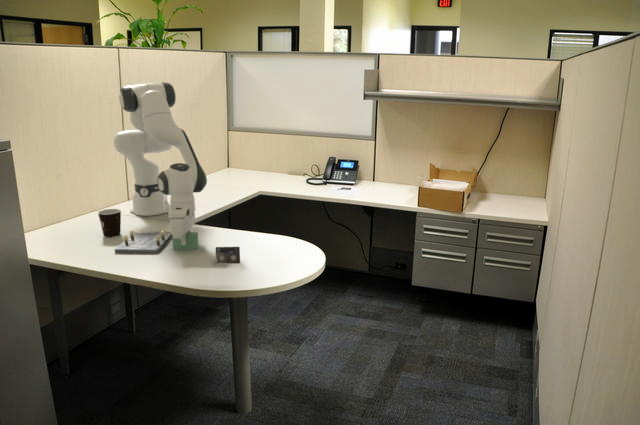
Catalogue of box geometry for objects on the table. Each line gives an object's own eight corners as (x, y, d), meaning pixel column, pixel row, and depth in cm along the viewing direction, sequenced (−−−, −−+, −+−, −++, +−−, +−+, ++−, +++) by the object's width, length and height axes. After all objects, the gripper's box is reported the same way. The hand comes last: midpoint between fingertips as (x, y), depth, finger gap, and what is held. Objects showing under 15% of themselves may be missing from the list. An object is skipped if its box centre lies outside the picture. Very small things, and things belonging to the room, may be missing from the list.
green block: (175, 246, 204) (174, 232, 203) (198, 246, 204) (197, 232, 203) (173, 249, 202) (172, 234, 200) (196, 249, 201) (195, 234, 200)
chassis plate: (134, 236, 217) (132, 225, 216) (173, 236, 217) (172, 225, 215) (114, 253, 198) (113, 241, 196) (157, 253, 197) (156, 241, 196)
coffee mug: (101, 233, 221) (98, 209, 218) (123, 230, 224) (120, 208, 221) (100, 241, 210) (97, 217, 208) (123, 239, 213) (121, 215, 210)
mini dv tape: (240, 262, 189) (239, 246, 187) (239, 263, 188) (239, 247, 186) (217, 262, 189) (216, 246, 187) (216, 264, 187) (215, 247, 186)
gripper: (182, 200, 209) (184, 233, 212) (166, 214, 189) (169, 251, 193) (198, 200, 208) (200, 233, 212) (184, 214, 189) (187, 251, 193)
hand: (185, 242), depth 202 cm, fingers closed on green block, 3 cm apart
